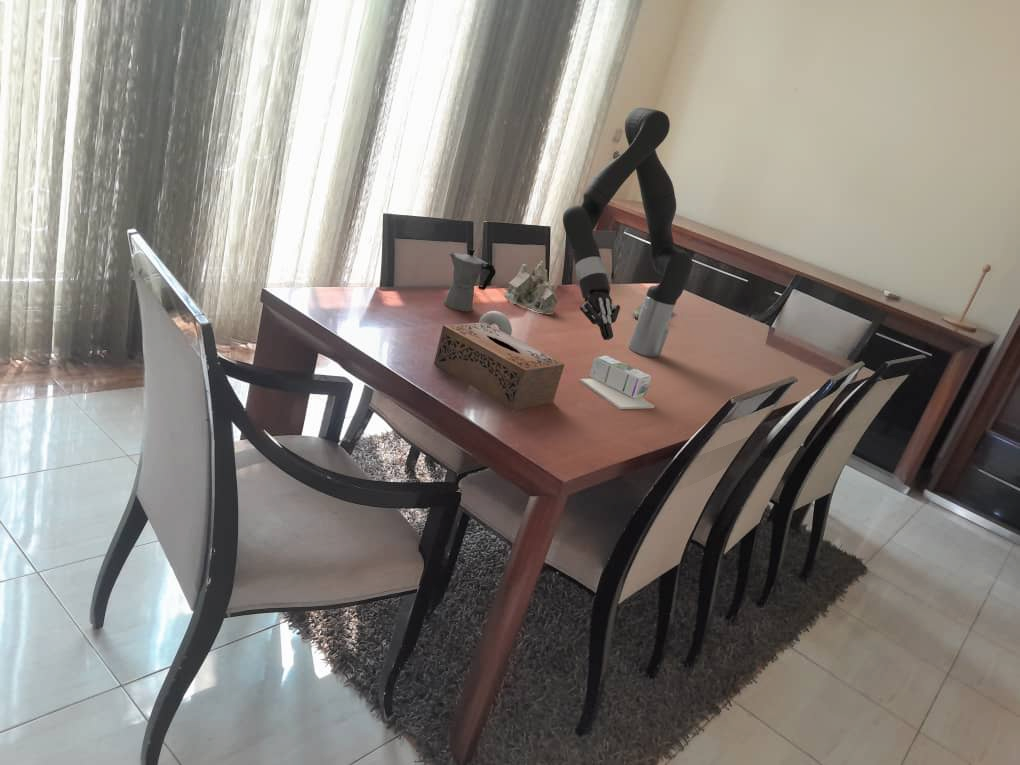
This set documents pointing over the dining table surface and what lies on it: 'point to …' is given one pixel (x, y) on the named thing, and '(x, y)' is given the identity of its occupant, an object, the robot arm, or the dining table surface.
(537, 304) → the ceramic cottage
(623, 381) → the syrup box
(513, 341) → the tissue box cover
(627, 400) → the mat
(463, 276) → the coffeepot
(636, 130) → the robot arm
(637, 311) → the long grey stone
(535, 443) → the dining table surface
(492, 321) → the donut
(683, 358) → the dining table surface
